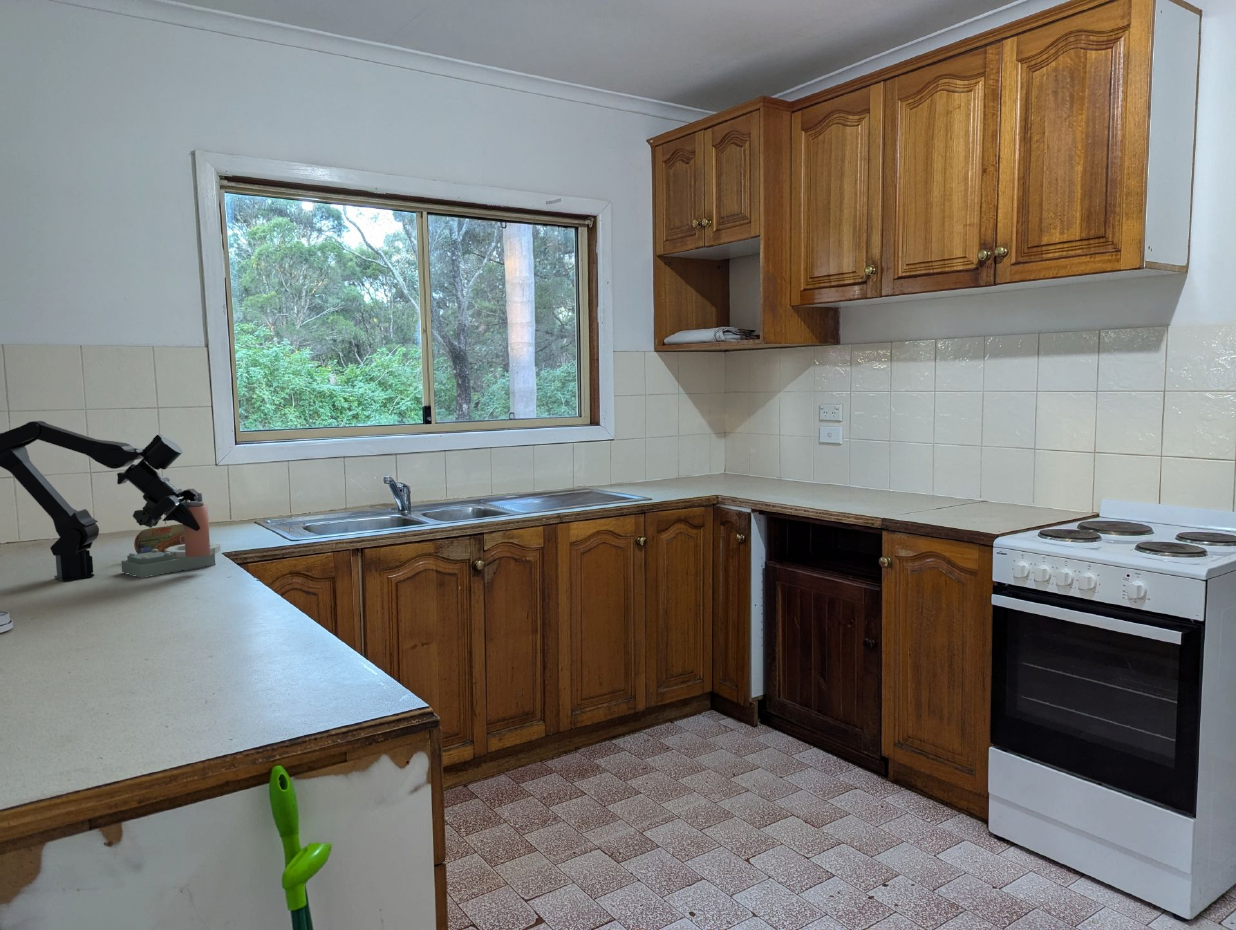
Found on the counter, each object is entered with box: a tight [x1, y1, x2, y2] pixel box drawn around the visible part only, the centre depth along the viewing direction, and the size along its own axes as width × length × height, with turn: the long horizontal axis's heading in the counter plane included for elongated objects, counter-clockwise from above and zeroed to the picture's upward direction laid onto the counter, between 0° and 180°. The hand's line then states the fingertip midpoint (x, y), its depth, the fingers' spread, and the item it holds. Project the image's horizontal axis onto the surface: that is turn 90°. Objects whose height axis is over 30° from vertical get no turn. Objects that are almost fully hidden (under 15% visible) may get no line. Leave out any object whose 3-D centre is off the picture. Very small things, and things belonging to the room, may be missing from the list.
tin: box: [133, 523, 185, 554], centre depth 227 cm, size 15×3×8 cm, turn 143°
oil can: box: [184, 492, 211, 557], centre depth 207 cm, size 5×5×15 cm
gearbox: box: [120, 542, 221, 578], centre depth 213 cm, size 21×12×5 cm, turn 143°
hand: (202, 527), depth 207 cm, fingers closed on oil can, 5 cm apart
